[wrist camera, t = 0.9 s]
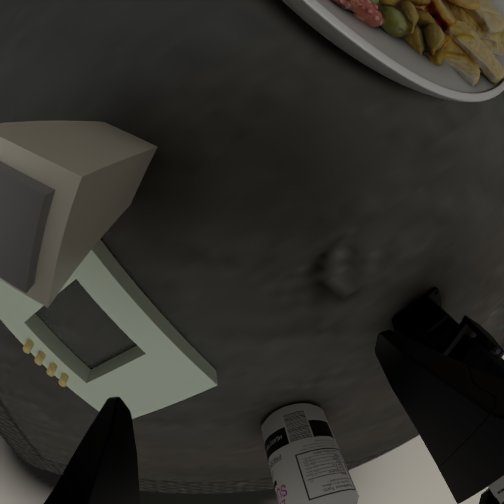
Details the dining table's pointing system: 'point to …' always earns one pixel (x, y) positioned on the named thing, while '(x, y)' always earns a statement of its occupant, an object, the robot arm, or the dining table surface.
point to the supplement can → (306, 458)
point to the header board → (125, 364)
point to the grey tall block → (61, 197)
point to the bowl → (419, 41)
